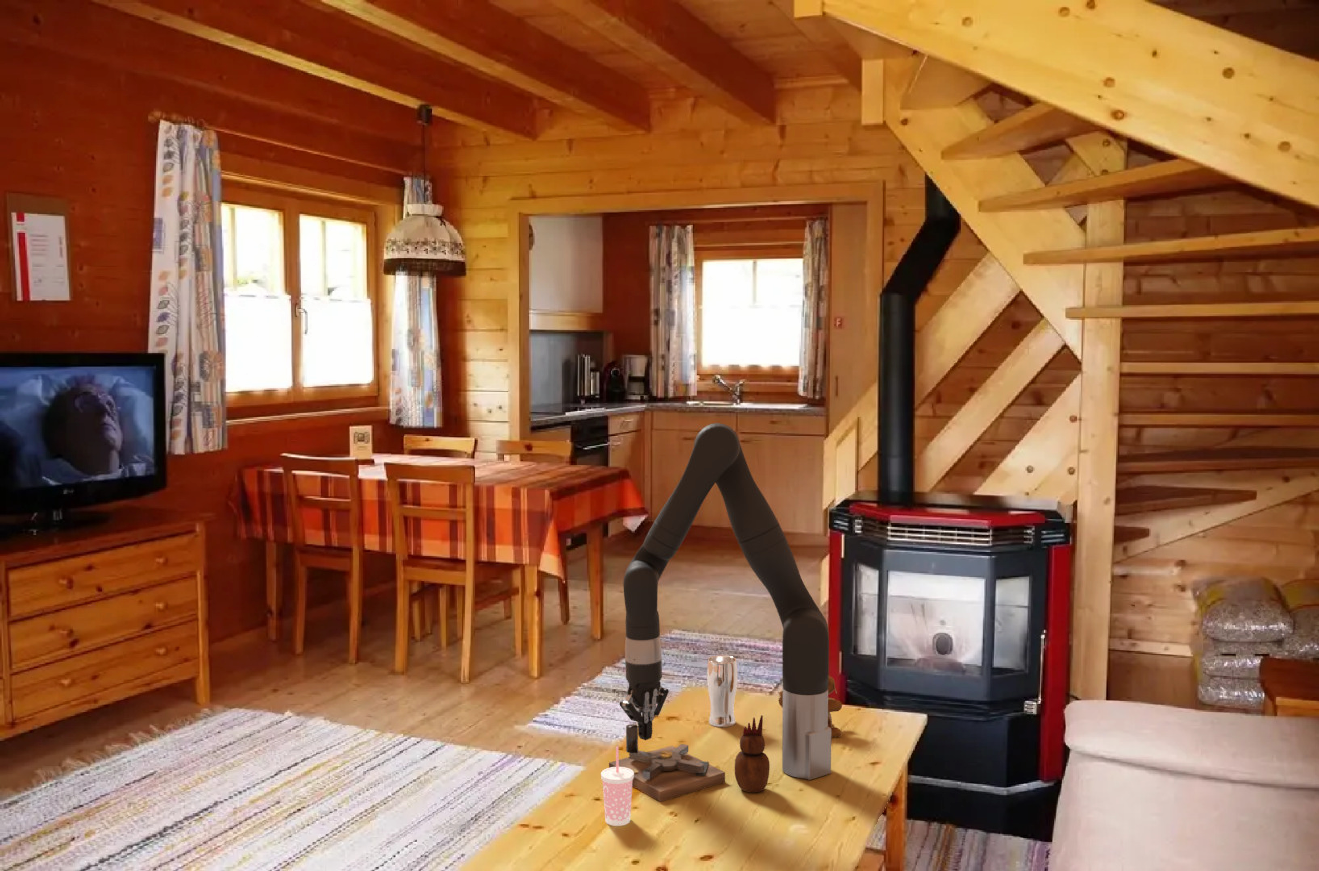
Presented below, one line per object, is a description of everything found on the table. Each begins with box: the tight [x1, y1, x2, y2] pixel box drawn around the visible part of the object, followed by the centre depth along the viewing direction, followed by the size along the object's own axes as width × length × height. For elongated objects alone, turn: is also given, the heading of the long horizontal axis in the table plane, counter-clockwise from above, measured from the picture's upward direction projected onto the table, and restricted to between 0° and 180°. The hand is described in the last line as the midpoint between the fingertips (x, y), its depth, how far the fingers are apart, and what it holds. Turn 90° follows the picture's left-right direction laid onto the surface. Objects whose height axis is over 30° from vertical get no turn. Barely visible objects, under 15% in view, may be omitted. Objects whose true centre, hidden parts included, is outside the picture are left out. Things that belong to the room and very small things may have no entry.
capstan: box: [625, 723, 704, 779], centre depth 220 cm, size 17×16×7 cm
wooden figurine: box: [734, 715, 771, 794], centre depth 213 cm, size 7×6×15 cm
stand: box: [608, 745, 726, 803], centre depth 220 cm, size 18×16×2 cm
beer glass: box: [706, 654, 738, 728], centre depth 251 cm, size 7×7×15 cm
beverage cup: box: [600, 745, 634, 827], centre depth 200 cm, size 6×6×14 cm
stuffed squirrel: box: [778, 675, 843, 738], centre depth 246 cm, size 10×14×13 cm
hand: (645, 738), depth 226 cm, fingers closed
